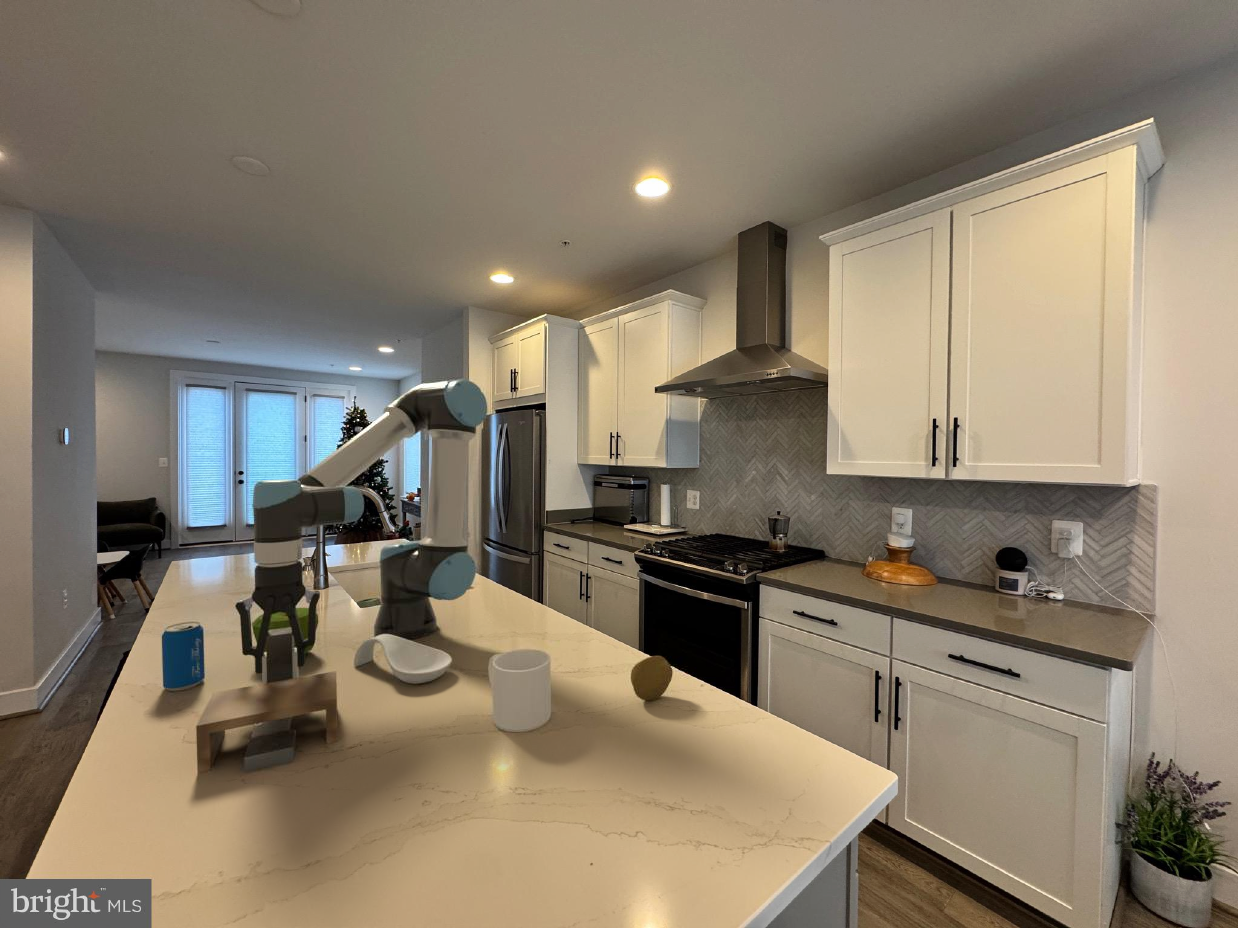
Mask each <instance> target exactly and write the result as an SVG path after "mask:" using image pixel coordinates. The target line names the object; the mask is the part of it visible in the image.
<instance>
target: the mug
mask: <svg viewBox="0 0 1238 928" xmlns="http://www.w3.org/2000/svg"><path fill="white" fill-rule="evenodd" d="M551 664H552V662H551V656H550V654H549V653H547V652H546V651H542V650H538V649H533V648H532V649H531V648H525V649H523V648H522V649H521V648H519V649H514V650H509V651H505V652H502V653H496V654H494V655H492V656H491V657H490V659H489V661H488V670H487V671H488V679H489V683H490V687H491V689H492V722H493V724H494V725H495V726H496V728H497V729H500V730H501V731H504V732H508V733H527V732H530V731H531V732H532V731H534V730H538V729H539V728H541V727H542V726H545V725H546V723H548V722H549V720H550V718H551V717H552V703H551V701H552V692H551V691H552V687H551V686H552V685H551V684H552V683H551V677H552V676H551V669H552V668H551V667H552V666H551Z"/></svg>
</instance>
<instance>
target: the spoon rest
mask: <svg viewBox="0 0 1238 928" xmlns="http://www.w3.org/2000/svg"><path fill="white" fill-rule="evenodd" d="M377 643H378V644H380V645H381V647H382V649H383V652H384V655H385V658H386V662H387V664H388V665H389V667H390V669H391V671H392V673H393V674H394V675H395V676H396V678H397V679H399V680H401V681H402V682H405V683H407V684H412V685H417V684H424V683H428V682H432V681H434V680H436V679H438V678H439V677H441V676H442V675H443V674H445V672H447V670H448V669H449V668H450V666H451V665H452V662H453V658H452V657H451V655H450V654H449V653H447V652H445V651H443V650H441V649H437V648H435V647H431V646H428V645H424V644H422V643H419V642H415V641H412V640H411V639H404V638H401V637H398V636H394V635H390V634H382V635H378V636H376V637H375V636H374V637H371V638H368V639H366V640H365V641H363V642H362V643H361V644H360V645H359V647H358V648H357V650H356V653H355V655H354V659H353V660H354V661H353V666H354V667H359V666H363V665H365V664H367V663H370V662H372V661H373V660H374V649H375V645H376V644H377Z"/></svg>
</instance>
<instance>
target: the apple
mask: <svg viewBox="0 0 1238 928" xmlns="http://www.w3.org/2000/svg"><path fill="white" fill-rule="evenodd" d="M296 610H297V615H298V619H299V623H300V626H301V630H302V634H303V637H304V640H305V639H307V638H308V612H309V607H296ZM262 618H263V614H260V615H259V616H258V617H257V618H256V619H254V620H253V621H252V622H251V628H252V631H253V633H252V634H253V635H254V639H255V642H256V643H257V641H258V636H259V632H260V627H261V623H262ZM318 625H319V615H318V613H317V612H316V630H317V628H318ZM288 627H291V625H290V622H289V618H288V616H287V612H286V613H282V612H278V613H275V614H272V616H271V621H270V625H269V630H273V629H281V628H288ZM269 630H268V631H269ZM314 647H315V644H314V645H312V646H309V647H307V648H306V649H305V655H306V654H307V653H309V652H310V651H312V649H313V648H314ZM294 648H296V644H295V640H294ZM264 652H266V643H265V649H264Z"/></svg>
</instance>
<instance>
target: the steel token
mask: <svg viewBox="0 0 1238 928" xmlns="http://www.w3.org/2000/svg"><path fill="white" fill-rule="evenodd" d="M296 732H297V731H296V728H293V729H291V728H290V730H286V731H282V732H277V733H272V734H268V735H263V736H258V737H253V738H251V737H250V738H249V742H248V744H247V748H246V750H245V754H244V756H243V765H244V767H243V768H244V773H243V774H249V773H253V772H254V773H255V772H257V771H262V770H266V769H270V768H274V767H278V766H283V765H287V764H291V763H293V762H294V755H295V748H296V742H297V741H296V739H297V736H296V735H297V733H296Z"/></svg>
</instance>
